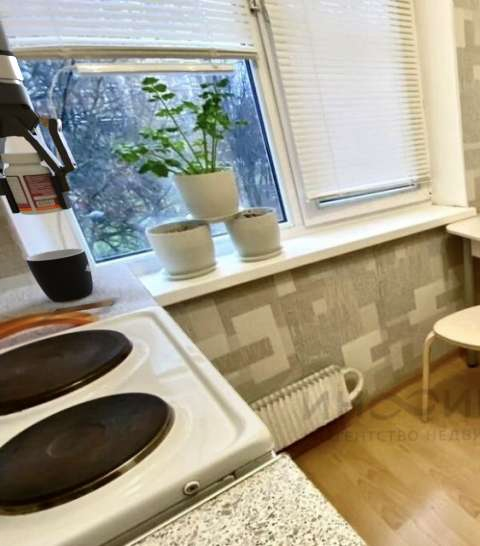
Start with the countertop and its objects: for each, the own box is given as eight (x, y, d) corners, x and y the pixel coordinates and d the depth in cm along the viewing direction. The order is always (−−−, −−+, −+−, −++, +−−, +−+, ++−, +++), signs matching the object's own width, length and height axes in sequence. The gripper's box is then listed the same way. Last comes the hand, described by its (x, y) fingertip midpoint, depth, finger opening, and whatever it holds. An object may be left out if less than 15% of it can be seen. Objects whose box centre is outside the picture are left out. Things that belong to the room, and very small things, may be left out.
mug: (104, 295, 95) (88, 252, 92) (47, 308, 89) (28, 263, 85) (91, 284, 102) (77, 244, 99) (38, 295, 95) (20, 253, 92)
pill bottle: (72, 208, 86) (51, 151, 83) (55, 213, 81) (32, 153, 77) (32, 210, 84) (9, 152, 80) (12, 216, 79) (-14, 154, 75)
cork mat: (42, 326, 81) (41, 323, 81) (57, 311, 87) (56, 308, 87) (103, 315, 85) (102, 313, 85) (114, 302, 92) (113, 299, 91)
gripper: (-105, 77, 67) (-40, 219, 75) (61, 82, 76) (103, 208, 84) (-77, 81, 73) (-20, 212, 81) (73, 85, 82) (112, 202, 90)
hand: (43, 210), depth 82 cm, fingers closed on pill bottle, 6 cm apart
